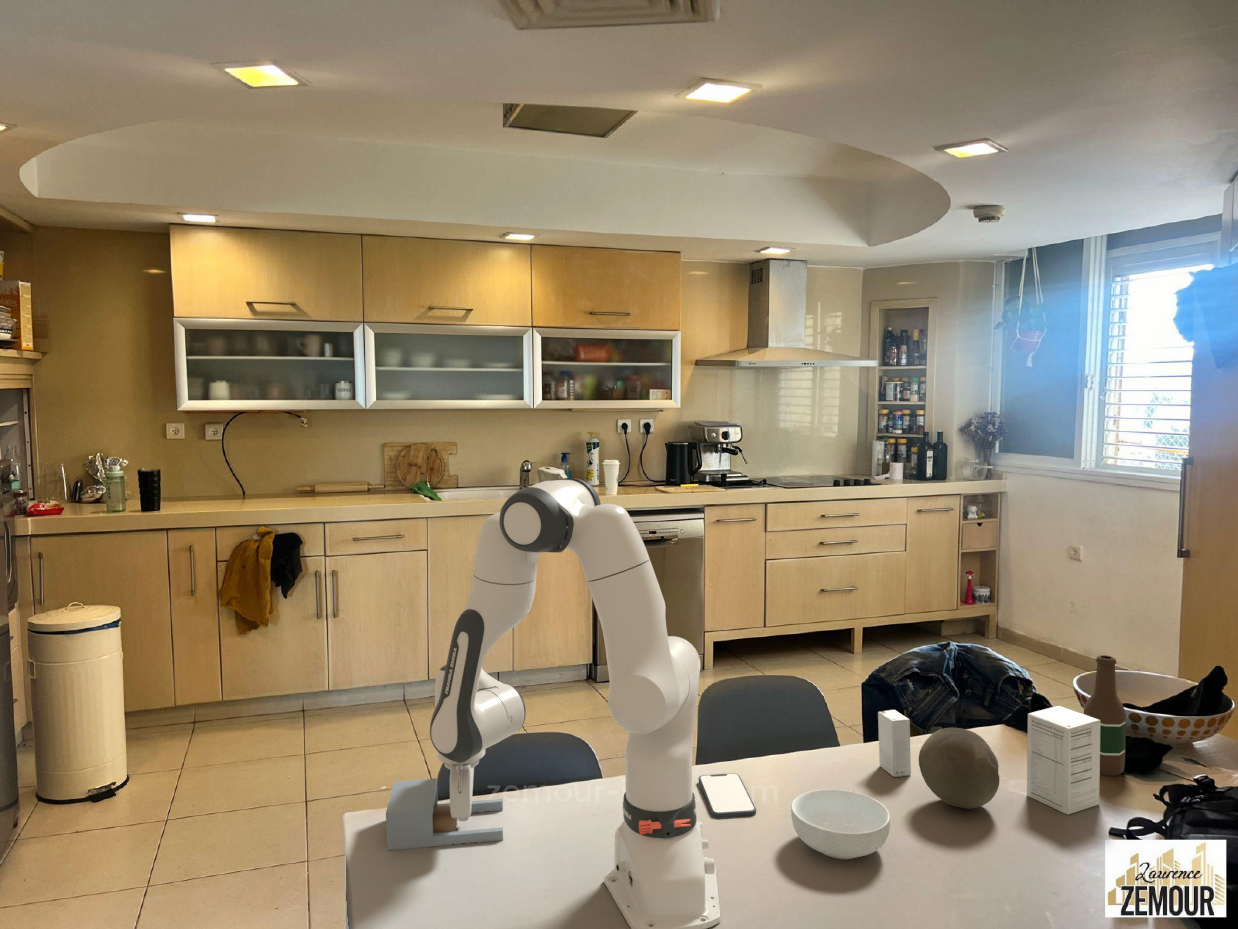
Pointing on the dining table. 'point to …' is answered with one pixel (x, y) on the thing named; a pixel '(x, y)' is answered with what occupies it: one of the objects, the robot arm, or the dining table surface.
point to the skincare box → (894, 743)
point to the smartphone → (726, 796)
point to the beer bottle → (1108, 717)
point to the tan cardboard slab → (443, 820)
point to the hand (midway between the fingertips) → (463, 817)
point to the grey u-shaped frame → (429, 818)
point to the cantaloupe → (959, 767)
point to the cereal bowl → (840, 822)
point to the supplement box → (1063, 759)
